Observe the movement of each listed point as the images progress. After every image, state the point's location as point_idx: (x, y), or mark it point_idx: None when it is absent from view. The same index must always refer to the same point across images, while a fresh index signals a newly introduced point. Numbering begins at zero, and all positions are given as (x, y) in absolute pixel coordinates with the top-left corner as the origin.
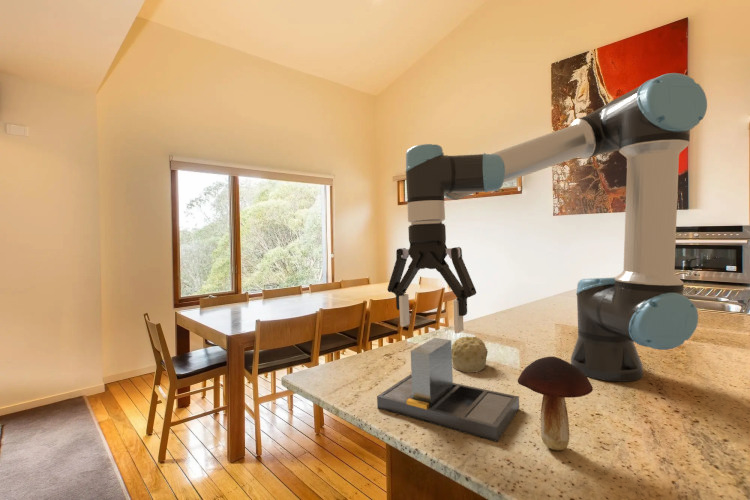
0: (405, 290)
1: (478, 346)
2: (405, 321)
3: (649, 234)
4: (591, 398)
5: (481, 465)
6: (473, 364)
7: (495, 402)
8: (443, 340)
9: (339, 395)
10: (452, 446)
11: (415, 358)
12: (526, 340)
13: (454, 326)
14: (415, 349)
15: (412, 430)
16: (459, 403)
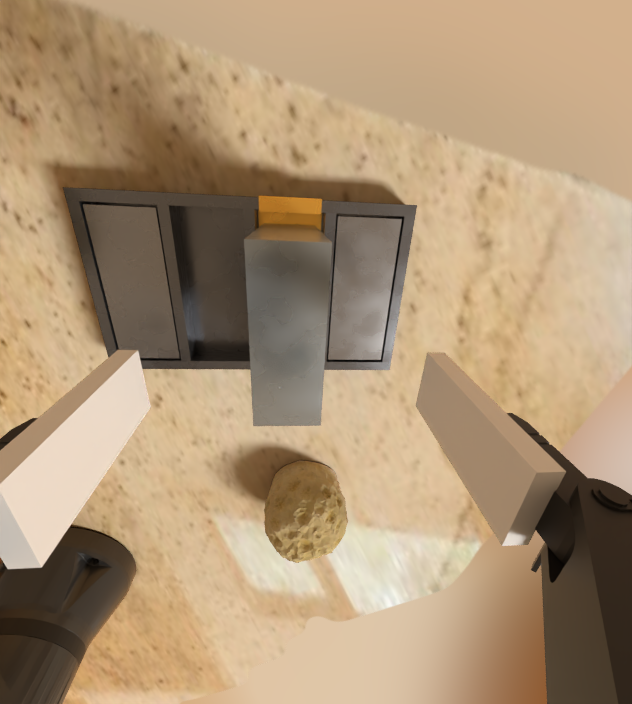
0: (547, 569)
1: (276, 527)
2: (431, 384)
3: None
4: None
5: (54, 58)
6: (282, 479)
7: (140, 318)
8: (276, 411)
9: (529, 221)
10: (154, 112)
11: (308, 238)
12: (255, 622)
13: (120, 364)
14: (321, 269)
15: (274, 138)
16: (237, 314)
